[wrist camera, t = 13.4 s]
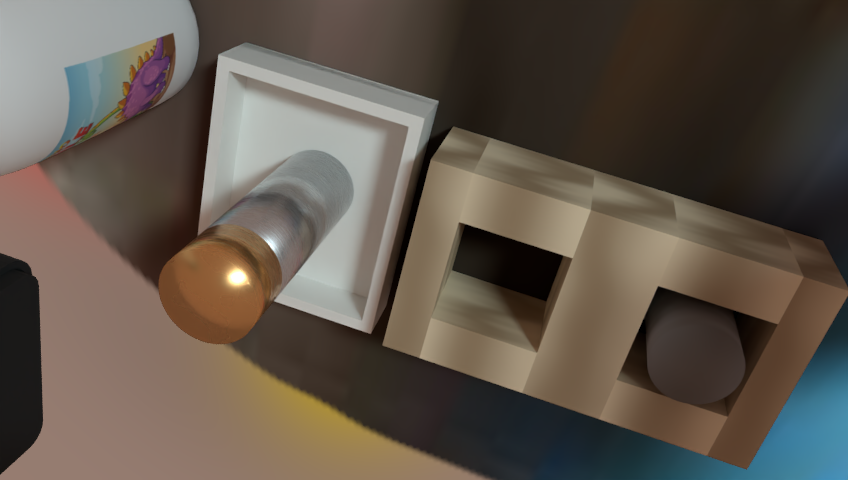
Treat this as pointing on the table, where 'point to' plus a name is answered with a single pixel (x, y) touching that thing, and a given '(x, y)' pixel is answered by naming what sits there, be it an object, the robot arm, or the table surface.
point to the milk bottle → (86, 69)
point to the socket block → (616, 298)
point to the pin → (255, 248)
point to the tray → (336, 135)
